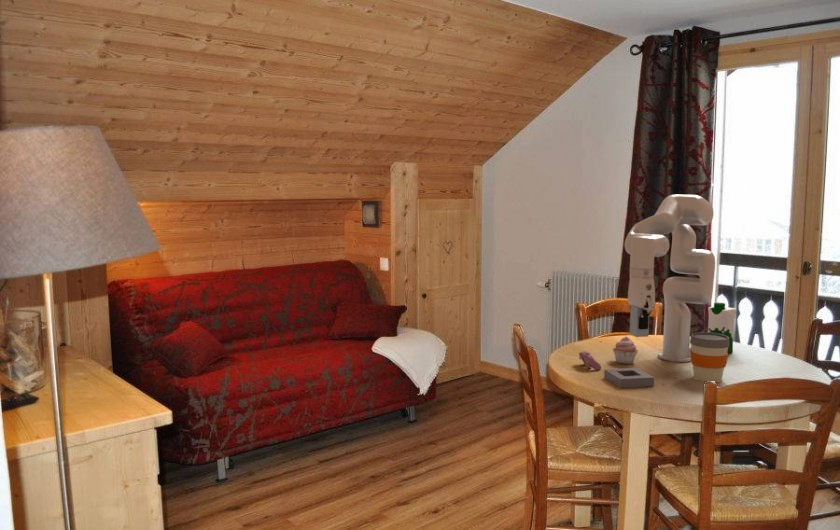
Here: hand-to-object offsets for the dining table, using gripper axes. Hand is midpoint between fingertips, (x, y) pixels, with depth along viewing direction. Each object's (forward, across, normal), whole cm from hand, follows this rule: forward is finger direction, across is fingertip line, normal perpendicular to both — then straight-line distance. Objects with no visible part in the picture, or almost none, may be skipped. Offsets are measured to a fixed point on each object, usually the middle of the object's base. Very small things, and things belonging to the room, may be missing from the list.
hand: (639, 326), depth 228 cm
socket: (+19, +2, +2) cm, 20 cm away
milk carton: (+20, +32, -55) cm, 66 cm away
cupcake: (+20, +26, -10) cm, 34 cm away
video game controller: (+20, +22, +7) cm, 30 cm away
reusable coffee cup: (+20, 0, -27) cm, 33 cm away
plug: (+3, 0, 0) cm, 3 cm away
